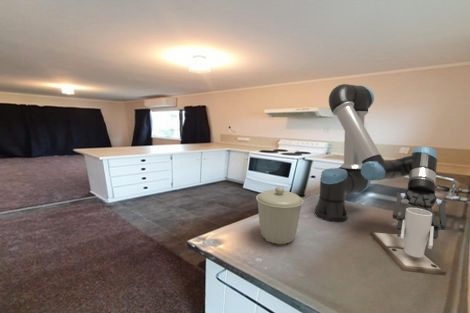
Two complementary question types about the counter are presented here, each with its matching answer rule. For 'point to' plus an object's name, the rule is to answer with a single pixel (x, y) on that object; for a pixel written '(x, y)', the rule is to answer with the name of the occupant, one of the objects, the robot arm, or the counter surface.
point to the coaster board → (405, 255)
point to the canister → (279, 215)
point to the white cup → (416, 231)
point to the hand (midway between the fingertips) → (415, 243)
